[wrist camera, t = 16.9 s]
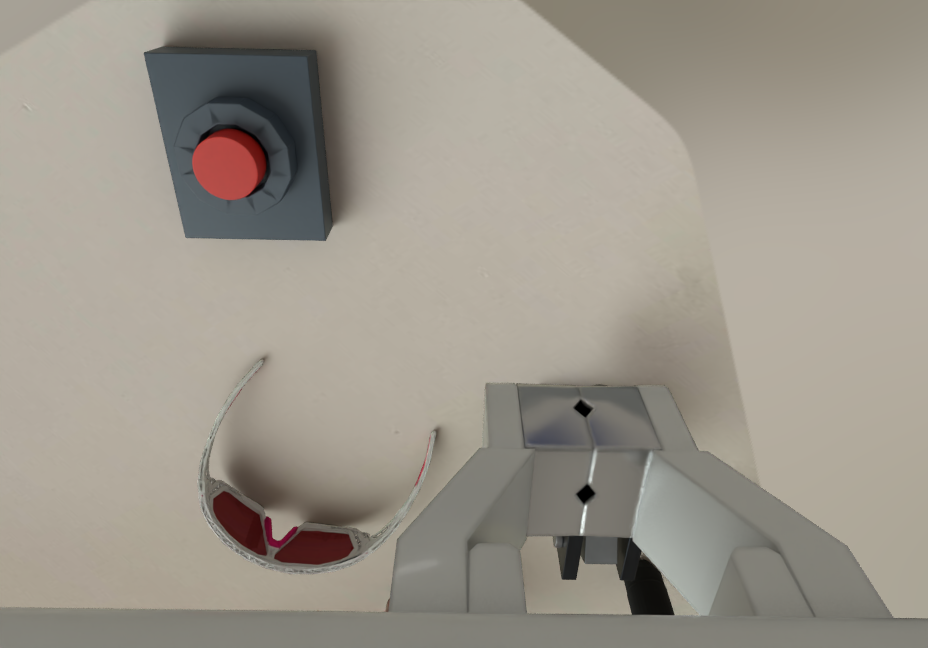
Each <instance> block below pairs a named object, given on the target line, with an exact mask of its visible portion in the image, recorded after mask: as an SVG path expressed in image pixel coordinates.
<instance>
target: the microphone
mask: <svg viewBox="0 0 928 648" xmlns="http://www.w3.org/2000/svg"><path fill="white" fill-rule="evenodd" d="M624 582H625V586H626V590H627V596H628V601H629V605H630V609H631V613H632V615H674V612H673V608H672V605H671V602H670V599H669V596H668V592H667V589H666V587H665V585H664V582H663V578H662V575H661V573H660V572H659V571H658V570H657V569H656V568H655V567H654V566H653V565H652V564H651V563H649V562H648V561H646V560H639V563H638V567H637V571H636V575H635V579H634V580H624Z"/></svg>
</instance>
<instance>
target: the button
mask: <svg viewBox="0 0 928 648" xmlns="http://www.w3.org/2000/svg"><path fill="white" fill-rule="evenodd" d="M192 165H193V170H194V174H195V176H196V178H197V180H198V181H199V183H200V184H201V185H202V186H203V188H204V189H206V190H207V191H208V192H209V193H211V194H212V195H214V196H216V197H219V198H222V199H226V200H237V199H241V198H244V197H246V196H247V195H249V194H250V193H251V192H252V191H253V190H254V189H255V188H256V186H257V185H258V184H259V183H260V182H261V181H262V179H263V177H264V175H265V172H266V158H265V155H264V152H263V150H262V148H261V147H260V145H259V144H258V143H257V142H256V141H255V140H254V139H253V138H252V137H251V136H250V135H248V134H246V133H244V132H242V131H240V130H236V129H222V130H219V131H216V132H214V133H213V134H212V135H210V136H209V137H207V138H206V139H205V140H203V141H202V142H201V143H200V144H199V145H198V146H197V147H196V149H195V151H194V154H193V158H192Z"/></svg>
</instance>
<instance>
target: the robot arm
mask: <svg viewBox="0 0 928 648" xmlns="http://www.w3.org/2000/svg"><path fill="white" fill-rule="evenodd" d="M527 536H598V537H622V538H633V542H634V543H635V544H636V545H637V546H638V547H639V548H640V549H641V550H642V552H643V553H644V554H645V555H646V556H647V557H648V558H649V559H650V560H651V561H652V563H653V564H654V565H655V566H656V567H657V568H658V569H659V570H660V571H661V573H662V574H663V575H664V576H665V577H666V578H667V579H668V580H669V581H670V582H671V584H672V585H673V586H674V587H675V588H676V589H677V590H678V591H679V592H680V594H681V595H682V596H683V597H684V598H685V599H686V600H687V601H688V602H689V603H690V605H691V606H692V607H693V608H694V609H695V610H696V611H697V612H698V613H699V615H700V616H692V615H607V614H527V611H526V601H525V592H524V582H523V573H522V563H521V554H520V550H521V548H522V546H523V544H524V543H525V541H526V537H527ZM0 648H928V619H917V618H893V616H892V615H891V614H890V612H889V610H888V609H887V607H886V606H885V604H884V602H883V601H882V599H881V598H880V596H879V595H878V593H877V591H876V590H875V588H874V587H873V585H872V584H871V582H870V581H869V579H868V578H867V576H866V574H865V573H864V571H863V570H862V568H861V567H860V565H859V563H858V562H857V560H856V559H855V557H854V556H853V554H852V553H851V551H850V549H849V548H848V546H846V545H845V544H843V543H842V542H840V541H839V540H838V539H836V538H834V537H833V536H832V535H830V534H829V533H827V532H826V531H824V530H823V529H821V528H819V527H818V526H817V525H816V524H814V523H813V522H811V521H810V520H808V519H807V518H805V517H804V516H802V515H801V514H799V513H798V512H796V511H795V510H793V509H792V508H791V507H789V506H788V505H786V504H785V503H783V502H781V501H780V500H779V499H777V498H776V497H774V496H773V495H771V494H770V493H768V492H767V491H765V490H764V489H763V488H761V487H760V486H758V485H757V484H755V483H754V482H752V481H751V480H749V479H748V478H746V477H745V476H743V475H742V474H741V473H739V472H738V471H736V470H735V469H733V468H732V467H730V466H729V465H727V464H726V463H724V462H723V461H721V460H720V459H718V458H717V457H716V456H714V455H713V454H711V453H710V452H708V451H699V450H698V448H697V446H696V444H695V442H694V440H693V438H692V436H691V434H690V432H689V430H688V428H687V425H686V423H685V421H684V419H683V417H682V415H681V413H680V411H679V409H678V407H677V405H676V403H675V400H674V398H673V396H672V394H671V392H670V390H669V388H667V387H666V386H665V385H641V386H634V387H628V386H576V385H549V384H522V383H516V384H515V383H486V385H485V392H484V413H483V433H482V448H479V449H478V450H477V451H476V452H475V454H474V455H473V456H472V457H471V458H470V459H469V460H468V461H467V462H466V464H465V465H464V466H463V467H462V468H461V469H460V470H459V471H458V472H457V473H456V475H455V476H454V477H453V478H452V479H451V480H450V481H449V482H448V483H447V485H446V486H445V487H444V488H443V489H442V490H441V491H440V492H439V493H438V494H437V496H436V497H435V498H434V499H433V500H432V501H431V502H430V503H429V504H428V506H427V507H426V508H425V509H424V510H423V511H422V512H421V513H420V514H419V516H418V517H417V518H416V519H415V520H414V521H413V522H412V523H411V524H410V525H409V527H408V528H407V529H406V530H405V531H404V532H403V533H402V534H401V535H400V537H399V538H398V539H397V545H396V553H395V561H394V569H393V577H392V585H391V594H390V602H389V610H388V612H358V611H276V610H194V609H114V608H35V607H0Z"/></svg>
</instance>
